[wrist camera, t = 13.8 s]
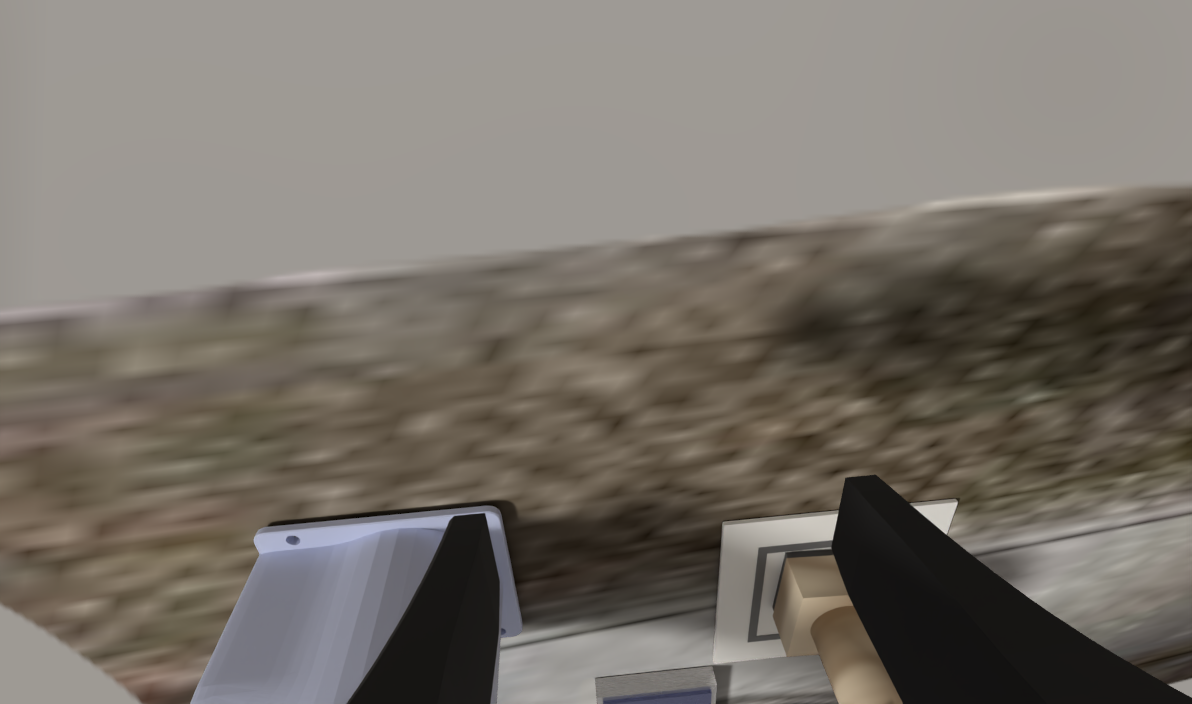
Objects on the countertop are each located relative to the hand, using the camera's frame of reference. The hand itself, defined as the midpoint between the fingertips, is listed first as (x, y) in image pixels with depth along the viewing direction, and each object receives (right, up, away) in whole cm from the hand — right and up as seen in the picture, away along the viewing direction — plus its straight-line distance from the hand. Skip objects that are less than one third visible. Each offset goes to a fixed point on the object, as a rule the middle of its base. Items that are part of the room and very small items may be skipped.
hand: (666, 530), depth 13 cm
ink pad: (+2, -15, +21) cm, 26 cm away
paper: (+9, -7, +17) cm, 20 cm away
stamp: (+9, -7, +16) cm, 19 cm away
